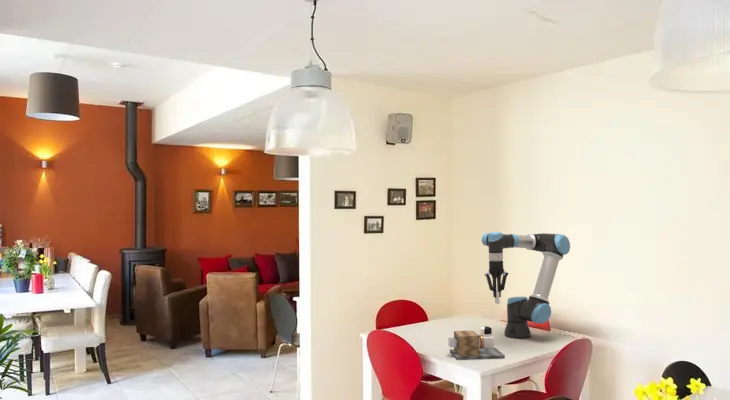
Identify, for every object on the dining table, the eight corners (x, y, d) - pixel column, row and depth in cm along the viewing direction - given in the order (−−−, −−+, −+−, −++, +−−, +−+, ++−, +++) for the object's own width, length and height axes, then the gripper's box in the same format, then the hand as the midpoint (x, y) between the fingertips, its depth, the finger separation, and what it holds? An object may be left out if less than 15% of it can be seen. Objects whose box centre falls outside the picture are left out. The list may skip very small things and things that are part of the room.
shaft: (480, 346, 287) (480, 333, 287) (484, 350, 280) (484, 336, 280) (447, 347, 286) (447, 334, 286) (451, 351, 279) (451, 337, 279)
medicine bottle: (490, 347, 299) (490, 325, 299) (494, 350, 292) (494, 328, 292) (477, 347, 299) (477, 325, 299) (481, 351, 292) (481, 328, 292)
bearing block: (495, 350, 292) (495, 329, 292) (504, 358, 278) (504, 335, 278) (449, 352, 289) (449, 330, 289) (456, 359, 275) (456, 337, 275)
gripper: (487, 261, 293) (488, 305, 293) (510, 260, 294) (511, 303, 295) (482, 260, 300) (483, 302, 301) (504, 258, 302) (506, 301, 302)
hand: (497, 303), depth 298 cm, fingers closed
